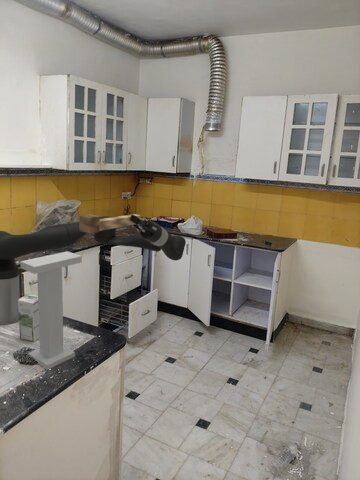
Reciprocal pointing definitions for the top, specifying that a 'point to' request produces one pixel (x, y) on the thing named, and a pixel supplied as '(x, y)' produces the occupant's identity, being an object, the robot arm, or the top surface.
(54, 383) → the top surface
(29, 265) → the stand
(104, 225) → the mallet
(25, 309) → the syrup box
